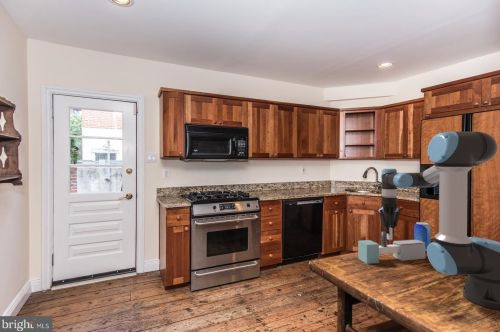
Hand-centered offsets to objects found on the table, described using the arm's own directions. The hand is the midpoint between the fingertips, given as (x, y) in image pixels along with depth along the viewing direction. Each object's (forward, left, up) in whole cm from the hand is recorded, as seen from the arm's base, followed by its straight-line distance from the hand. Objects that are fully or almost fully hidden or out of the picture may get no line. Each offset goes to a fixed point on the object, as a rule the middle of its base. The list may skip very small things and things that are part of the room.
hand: (389, 239), depth 150 cm
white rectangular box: (0, -12, -11) cm, 16 cm away
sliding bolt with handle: (0, 0, -7) cm, 7 cm away
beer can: (+11, -31, -11) cm, 34 cm away
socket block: (0, +13, -11) cm, 17 cm away
